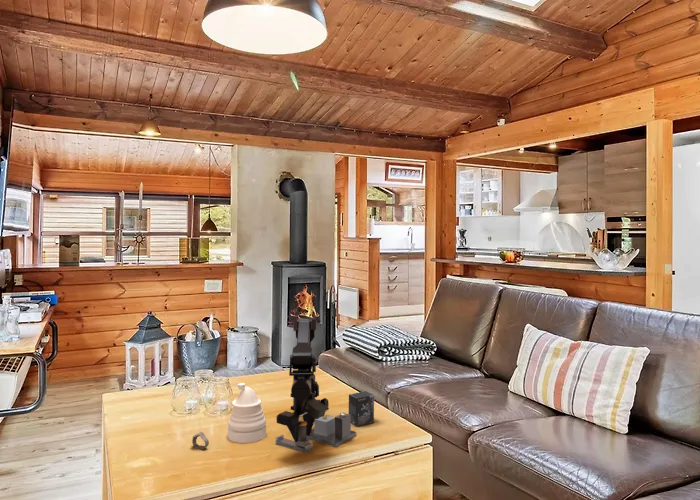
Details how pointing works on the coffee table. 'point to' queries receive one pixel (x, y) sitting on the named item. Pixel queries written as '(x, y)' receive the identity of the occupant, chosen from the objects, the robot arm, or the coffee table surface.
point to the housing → (325, 425)
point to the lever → (302, 435)
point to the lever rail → (292, 444)
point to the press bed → (329, 438)
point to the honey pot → (246, 417)
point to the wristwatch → (202, 438)
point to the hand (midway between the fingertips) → (302, 438)
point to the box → (361, 408)
